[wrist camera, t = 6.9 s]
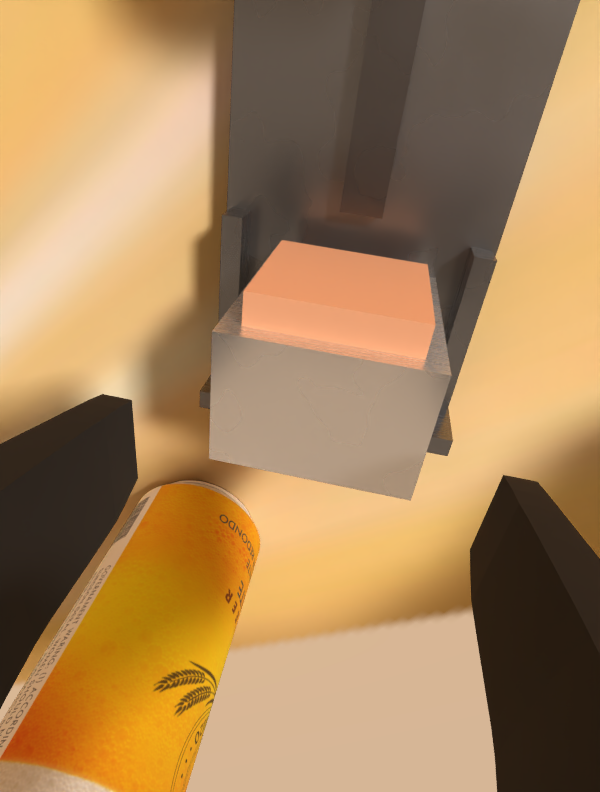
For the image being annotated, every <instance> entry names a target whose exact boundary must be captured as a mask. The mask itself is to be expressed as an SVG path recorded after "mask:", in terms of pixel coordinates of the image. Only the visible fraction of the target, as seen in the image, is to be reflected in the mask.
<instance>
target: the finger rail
mask: <svg viewBox="0 0 600 792" xmlns="http://www.w3.org/2000/svg"><path fill="white" fill-rule="evenodd" d="M579 2H580V0H234V28H233V56H232V84H231V112H230V139H229V167H228V195H227V212H225V213H224V214H223V215H222V228H221V261H220V293H219V321H220V320H221V319H222V317H223V316H224V315H225V313H226V312H227V311H228V309H229V308H230V307H231V305H232V304H233V303H234V301H235V300H236V299H237V298H238V296H239V295H240V294H241V292H242V291H243V290H244V288H245V287H246V286H247V284H248V283H249V282H250V280H251V279H252V278H253V276H254V275H255V274H256V273H257V271H258V270H259V269H260V267H261V266H262V265H263V263H264V262H265V261H266V259H267V258H268V257H269V255H270V254H271V253H272V252H273V250H275V249H276V247H277V246H278V245H279V243H280V242H281V241H282V240H285V241H291V242H297V243H303V244H309V245H315V246H321V247H327V248H333V249H339V250H345V251H351V252H357V253H363V254H369V255H375V256H380V257H386V258H392V259H398V260H404V261H410V262H416V263H422V264H428V271H429V277H433V278H436V283H437V290H438V296H439V302H440V308H441V314H442V321H443V327H444V333H445V339H446V345H447V351H448V358H449V364H450V370H451V378H450V381H449V384H448V388H447V391H446V394H445V397H444V400H443V403H442V406H441V409H440V412H439V415H438V418H437V421H436V424H435V427H434V430H433V434H432V437H431V440H430V443H429V446H428V449H427V452H429V453H434V454H439V455H444V456H448V453H449V450H450V447H451V445H452V442H453V439H452V432H451V424H450V417H449V410H448V406H449V403H450V400H451V397H452V394H453V391H454V388H455V385H456V382H457V379H458V376H459V373H460V370H461V367H462V364H463V361H464V358H465V355H466V352H467V349H468V346H469V343H470V340H471V337H472V334H473V331H474V328H475V325H476V322H477V319H478V316H479V313H480V310H481V307H482V304H483V301H484V298H485V295H486V292H487V289H488V286H489V283H490V280H491V277H492V274H493V271H494V268H495V265H496V262H497V259H496V257H495V256H496V253H497V250H498V247H499V244H500V241H501V237H502V234H503V231H504V228H505V225H506V222H507V219H508V216H509V213H510V210H511V207H512V204H513V201H514V198H515V195H516V192H517V189H518V186H519V183H520V180H521V177H522V174H523V171H524V168H525V165H526V162H527V159H528V156H529V153H530V150H531V147H532V144H533V141H534V138H535V135H536V132H537V129H538V126H539V123H540V120H541V117H542V114H543V111H544V108H545V105H546V102H547V99H548V96H549V93H550V90H551V87H552V84H553V81H554V78H555V75H556V72H557V69H558V66H559V63H560V60H561V57H562V54H563V50H564V47H565V44H566V41H567V38H568V35H569V32H570V29H571V26H572V23H573V20H574V17H575V14H576V11H577V8H578V5H579ZM210 393H211V375H210V377H209V378H208V380H207V381H206V383H205V384H204V386H203V387H202V389H201V391H200V407H203V408H208V409H210Z"/></svg>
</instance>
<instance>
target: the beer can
mask: <svg viewBox="0 0 600 792" xmlns="http://www.w3.org/2000/svg"><path fill="white" fill-rule="evenodd" d="M259 550H260V537H259V533H258V530H257V528H256V526H255V524H254V522H253V520H252V519H251V516H250V514H249V512H248V511H247V509H246V507H245V506H244V505H243V504H242V503H241V502H240V501H239V500H238V499H237V498H236V497H235V496H234V495H232V494H231V493H229V492H228V491H226V490H224V489H222V488H220V487H218V486H216V485H213V484H210V483H207V482H202V481H195V480H184V481H178V482H174V483H171V484H167V485H162V486H159V487H156V488H154V489H152V490H150V491H149V492H147V493H146V494H145V495H144V496H143V497H142V498H141V499H140V501H139V502H138V504H137V506H136V507H135V509H134V510H133V512H132V514H131V515H130V517H129V518H128V520H127V522H126V523H125V525H124V526H123V528H122V529H121V531H120V533H119V534H118V536H117V537H116V539H115V541H114V542H113V544H112V545H111V547H110V549H109V550H108V552H107V553H106V555H105V557H104V558H103V560H102V561H101V563H100V565H99V566H98V568H97V569H96V571H95V573H94V574H93V576H92V577H91V579H90V581H89V582H88V584H87V585H86V587H85V589H84V590H83V592H82V593H81V595H80V597H79V598H78V600H77V601H76V603H75V605H74V606H73V608H72V609H71V611H70V613H69V614H68V616H67V617H66V619H65V621H64V622H63V624H62V625H61V627H60V629H59V630H58V632H57V633H56V635H55V637H54V638H53V640H52V641H51V643H50V644H49V646H48V648H47V649H46V651H45V652H44V654H43V656H42V657H41V659H40V660H39V662H38V664H37V665H36V667H35V668H34V670H33V672H32V673H31V675H30V676H29V678H28V680H27V681H26V683H25V684H24V686H23V688H22V689H21V691H20V692H19V694H18V696H17V698H16V699H15V700H14V702H13V704H12V705H11V707H10V708H9V710H8V712H7V713H6V715H5V717H4V718H3V720H2V721H1V723H0V792H186V789H187V785H188V782H189V779H190V775H191V772H192V769H193V766H194V763H195V759H196V756H197V753H198V749H199V746H200V743H201V739H202V736H203V733H204V730H205V726H206V723H207V720H208V717H209V713H210V710H211V707H212V704H213V700H214V697H215V694H216V690H217V687H218V684H219V681H220V677H221V674H222V671H223V668H224V664H225V661H226V658H227V655H228V651H229V648H230V645H231V642H232V638H233V635H234V632H235V628H236V625H237V622H238V619H239V615H240V612H241V609H242V606H243V602H244V599H245V596H246V592H247V589H248V586H249V583H250V579H251V576H252V573H253V570H254V566H255V563H256V560H257V556H258V553H259Z"/></svg>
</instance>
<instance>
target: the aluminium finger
mask: <svg viewBox="0 0 600 792" xmlns="http://www.w3.org/2000/svg"><path fill="white" fill-rule="evenodd" d="M450 378H451V370H450V364H449V358H448V351H447V345H446V339H445V333H444V327H443V321H442V314H441V308H440V302H439V296H438V290H437V283H436V278H433V277H429V271H428V264H422V263H416V262H410V261H404V260H398V259H392V258H386V257H380V256H375V255H369V254H363V253H357V252H351V251H345V250H339V249H333V248H327V247H321V246H315V245H309V244H303V243H297V242H291V241H285V240H282V241H281V242H280V243H279V245H278V246H277V247H276V249H275V250H273V252H272V253H271V254H270V255H269V257H268V258H267V259H266V261H265V262H264V263H263V265H262V266H261V267H260V269H259V270H258V271H257V273H256V274H255V275H254V276H253V278H252V279H251V280H250V282H249V283H248V284H247V286H246V287H245V288H244V290H243V291H242V292H241V294H240V295H239V296H238V298H237V299H236V300H235V301H234V303H233V304H232V305H231V307H230V308H229V309H228V311H227V312H226V313H225V315H224V316H223V317H222V319H221V320H220V321H219V323H218V324H217V325H216V326H215V328H214V329H213V330H212V350H211V393H210V437H209V459H212V460H217V461H222V462H227V463H232V464H237V465H241V466H246V467H251V468H256V469H261V470H266V471H270V472H275V473H280V474H285V475H290V476H295V477H299V478H304V479H309V480H314V481H319V482H324V483H328V484H333V485H338V486H343V487H348V488H353V489H357V490H362V491H367V492H372V493H377V494H382V495H386V496H391V497H396V498H401V499H406V500H411V498H412V495H413V492H414V489H415V486H416V483H417V480H418V476H419V473H420V470H421V467H422V464H423V461H424V458H425V455H426V452H427V449H428V446H429V443H430V440H431V437H432V434H433V430H434V427H435V424H436V421H437V418H438V415H439V412H440V409H441V406H442V403H443V400H444V397H445V394H446V391H447V388H448V384H449V381H450Z"/></svg>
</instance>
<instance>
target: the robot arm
mask: <svg viewBox="0 0 600 792" xmlns="http://www.w3.org/2000/svg"><path fill="white" fill-rule="evenodd" d="M137 479H138V474H137V461H136V449H135V436H134V423H133V411H132V400H129V399H124V398H119V397H114V396H109V395H104V394H102V395H100V396H97V397H95V398H93V399H90V400H88V401H86V402H84V403H82V404H80V405H78V406H76V407H74V408H72V409H70V410H68V411H66V412H64V413H62V414H60V415H58V416H56V417H54V418H52V419H50V420H48V421H46V422H44V423H42V424H40V425H38V426H36V427H34V428H32V429H30V430H28V431H26V432H24V433H22V434H20V435H18V436H16V437H14V438H12V439H10V440H8V441H6V442H4V443H2V444H0V709H1V706H2V704H3V703H4V701H5V699H6V697H7V695H8V693H9V691H10V690H11V688H12V686H13V684H14V682H15V680H16V679H17V677H18V675H19V673H20V671H21V669H22V668H23V666H24V664H25V662H26V660H27V658H28V657H29V655H30V653H31V651H32V649H33V647H34V646H35V644H36V642H37V641H38V639H39V637H40V636H41V634H42V633H43V631H44V629H45V628H46V626H47V625H48V623H49V621H50V620H51V618H52V617H53V615H54V614H55V612H56V611H57V609H58V608H59V606H60V605H61V603H62V602H63V601H64V599H65V598H66V596H67V595H68V593H69V592H70V590H71V589H72V587H73V586H74V584H75V583H76V581H77V580H78V578H79V577H80V575H81V574H82V572H83V571H84V569H85V568H86V567H87V565H88V564H89V562H90V561H91V559H92V558H93V556H94V555H95V553H96V552H97V550H98V549H99V547H100V546H101V544H102V543H103V541H104V540H105V538H106V537H107V535H108V534H109V532H110V531H111V529H112V527H113V526H114V524H115V523H116V521H117V519H118V517H119V515H120V513H121V512H122V510H123V508H124V506H125V504H126V502H127V500H128V498H129V496H130V493H131V491H132V489H133V487H134V485H135V483H136V481H137ZM470 574H471V600H472V608H473V615H474V621H475V628H476V634H477V641H478V646H479V653H480V660H481V666H482V672H483V678H484V684H485V691H486V696H487V703H488V709H489V715H490V722H491V728H492V737H493V744H494V753H495V764H496V780H497V792H600V559H599V557H598V556H597V555H596V554H595V552H594V551H593V550H592V549H591V548H590V546H589V545H588V544H587V543H586V541H585V540H584V539H583V538H582V536H581V535H580V534H579V533H578V531H577V530H576V529H575V528H574V526H573V525H572V524H571V523H570V521H569V520H568V519H567V518H566V516H565V515H564V514H563V513H562V511H561V510H560V509H559V507H558V506H557V505H556V504H555V502H554V501H553V500H552V499H551V498H550V496H549V495H548V494H547V493H546V491H545V490H544V489H543V488H542V487H541V486H540V484H539V483H538V482H535V481H530V480H526V479H521V478H516V477H511V476H506V475H503V477H502V479H501V482H500V484H499V486H498V488H497V491H496V493H495V495H494V497H493V500H492V502H491V504H490V506H489V508H488V511H487V513H486V515H485V517H484V520H483V522H482V524H481V526H480V529H479V531H478V533H477V535H476V537H475V540H474V542H473V544H472V546H471V549H470Z"/></svg>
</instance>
